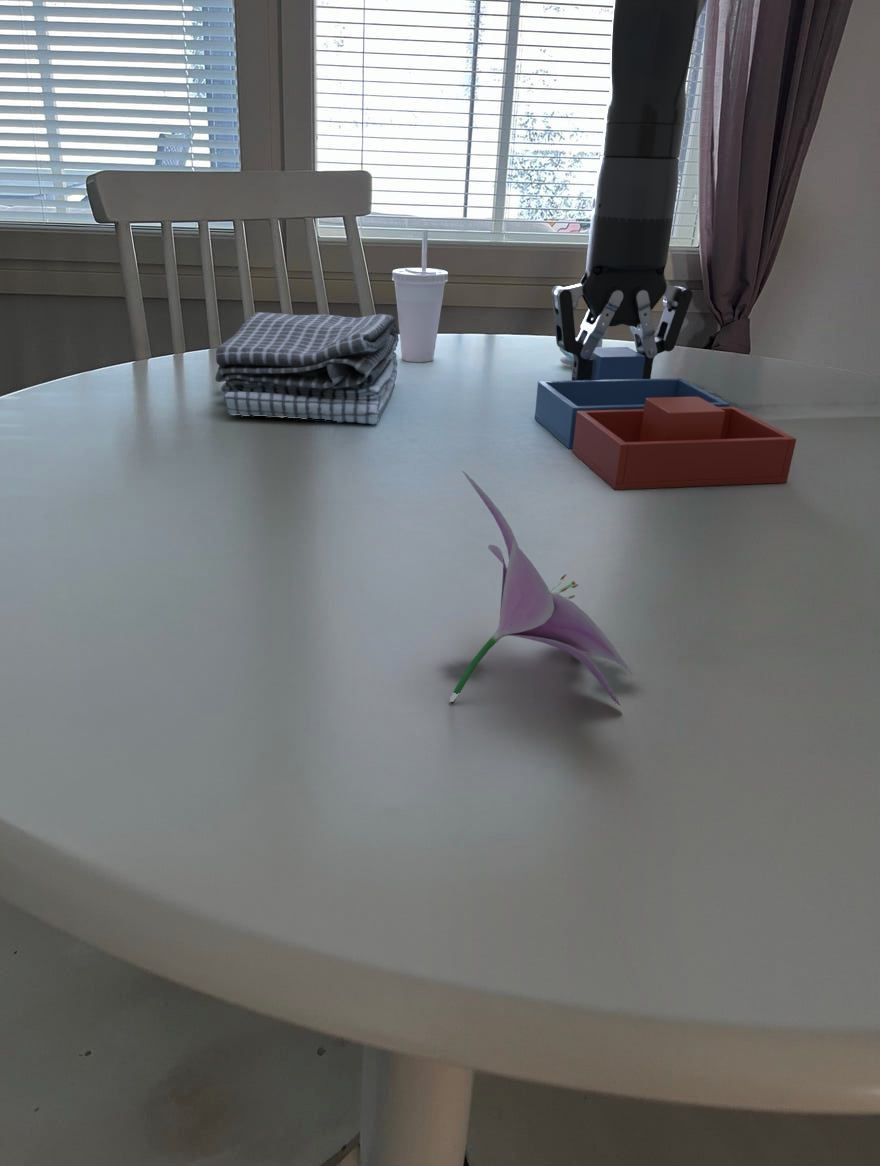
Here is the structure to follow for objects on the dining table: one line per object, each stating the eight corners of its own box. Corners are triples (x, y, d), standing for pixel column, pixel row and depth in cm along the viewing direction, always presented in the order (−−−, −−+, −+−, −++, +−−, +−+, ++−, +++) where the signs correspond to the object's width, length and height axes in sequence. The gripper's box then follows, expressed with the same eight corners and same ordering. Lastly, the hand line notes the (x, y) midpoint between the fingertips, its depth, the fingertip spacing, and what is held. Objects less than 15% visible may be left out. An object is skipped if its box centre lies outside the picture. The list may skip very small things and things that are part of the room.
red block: (689, 451, 78) (698, 396, 76) (714, 468, 74) (725, 411, 72) (637, 453, 77) (645, 397, 75) (660, 470, 73) (669, 412, 71)
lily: (601, 818, 38) (725, 612, 36) (345, 682, 38) (456, 470, 36) (576, 736, 50) (669, 577, 48) (381, 633, 50) (465, 470, 48)
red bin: (727, 446, 81) (735, 406, 80) (786, 482, 73) (796, 438, 71) (571, 452, 79) (576, 410, 77) (614, 490, 71) (620, 444, 69)
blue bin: (675, 414, 90) (681, 378, 89) (722, 443, 82) (730, 403, 80) (534, 418, 88) (537, 381, 86) (568, 448, 80) (572, 407, 78)
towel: (401, 382, 100) (402, 305, 96) (376, 429, 84) (377, 338, 80) (261, 375, 101) (258, 299, 97) (211, 420, 85) (204, 330, 81)
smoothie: (419, 367, 106) (424, 233, 99) (379, 358, 110) (380, 228, 103) (455, 359, 110) (462, 230, 104) (415, 350, 114) (418, 225, 107)
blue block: (621, 391, 98) (627, 346, 96) (639, 403, 94) (645, 356, 92) (579, 392, 97) (584, 347, 95) (595, 404, 93) (601, 357, 91)
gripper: (572, 214, 83) (553, 405, 91) (722, 215, 85) (691, 402, 93) (546, 208, 89) (530, 387, 97) (686, 209, 92) (659, 384, 100)
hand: (609, 393), depth 95 cm, fingers open, 5 cm apart
